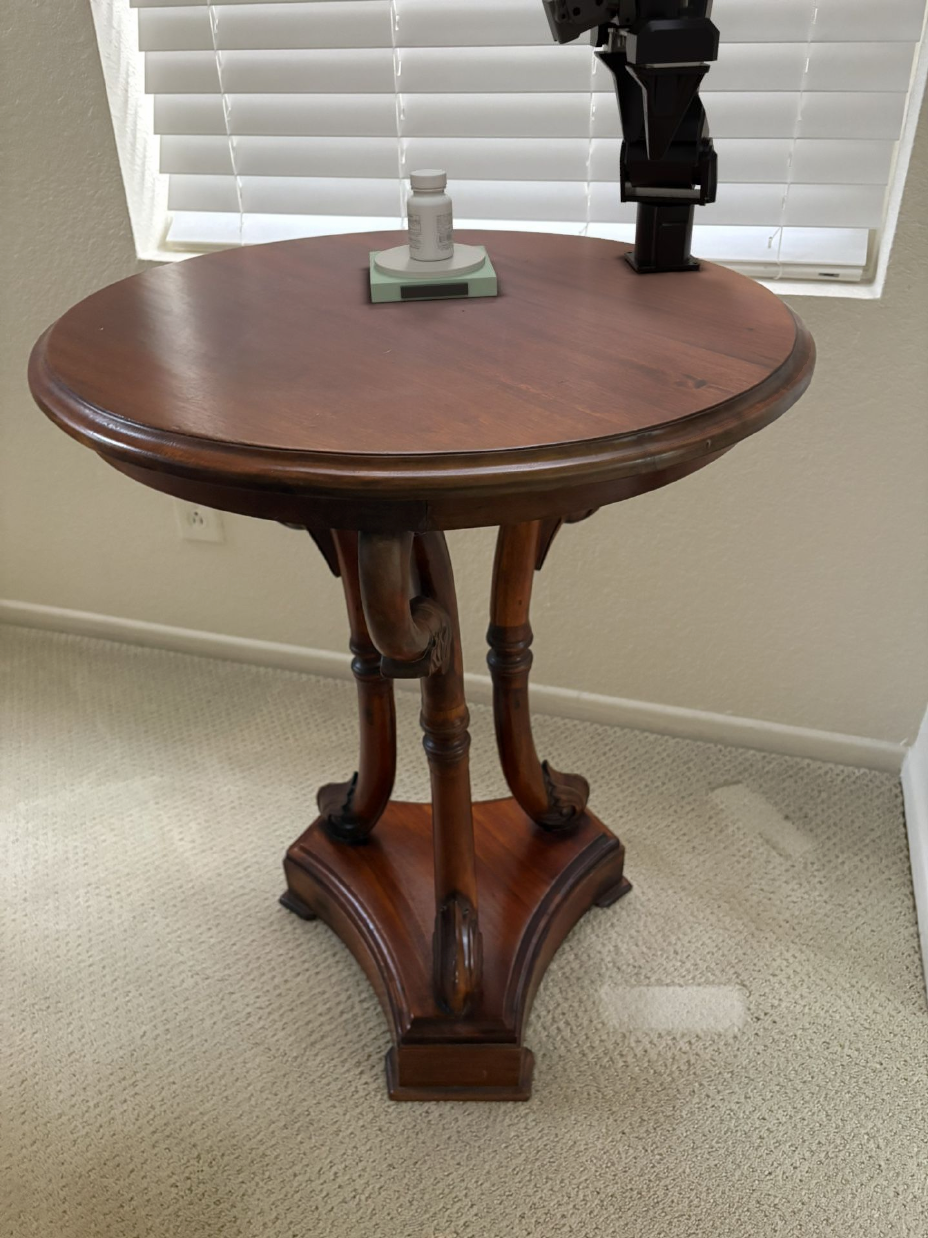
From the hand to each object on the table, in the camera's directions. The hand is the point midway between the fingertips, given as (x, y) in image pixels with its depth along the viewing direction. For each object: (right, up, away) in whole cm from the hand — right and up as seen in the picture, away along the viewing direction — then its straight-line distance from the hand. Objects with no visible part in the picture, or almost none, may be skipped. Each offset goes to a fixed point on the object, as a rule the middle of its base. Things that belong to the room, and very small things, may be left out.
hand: (642, 150), depth 86 cm
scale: (-18, -6, +15) cm, 25 cm away
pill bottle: (-18, -4, +14) cm, 24 cm away
